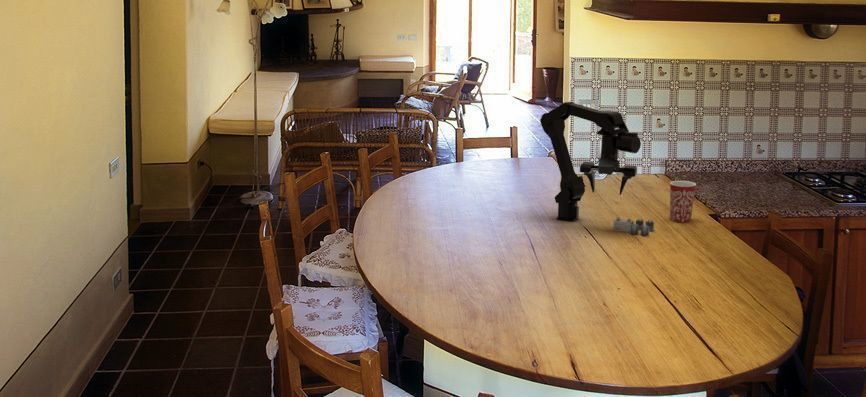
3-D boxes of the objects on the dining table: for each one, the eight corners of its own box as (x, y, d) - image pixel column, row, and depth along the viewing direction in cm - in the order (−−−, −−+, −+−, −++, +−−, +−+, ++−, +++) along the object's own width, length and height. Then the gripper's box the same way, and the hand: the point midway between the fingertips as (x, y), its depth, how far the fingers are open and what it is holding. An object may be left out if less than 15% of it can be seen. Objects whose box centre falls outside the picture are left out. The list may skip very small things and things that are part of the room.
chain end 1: (629, 234, 296) (630, 224, 295) (636, 227, 304) (637, 218, 303) (637, 235, 295) (637, 225, 294) (643, 228, 303) (644, 219, 302)
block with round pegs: (613, 230, 301) (613, 218, 300) (616, 228, 304) (616, 216, 303) (630, 232, 299) (631, 220, 298) (633, 230, 302) (633, 218, 301)
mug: (696, 223, 310) (698, 186, 306) (670, 223, 310) (672, 185, 307) (688, 214, 322) (691, 178, 319) (663, 214, 322) (665, 178, 319)
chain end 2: (640, 235, 294) (640, 225, 294) (646, 229, 302) (647, 219, 301) (647, 236, 293) (648, 226, 292) (654, 230, 301) (654, 220, 300)
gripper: (577, 151, 294) (575, 196, 298) (634, 155, 288) (631, 201, 292) (584, 145, 304) (581, 189, 308) (638, 149, 298) (635, 194, 302)
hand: (606, 193), depth 302 cm, fingers open, 9 cm apart
